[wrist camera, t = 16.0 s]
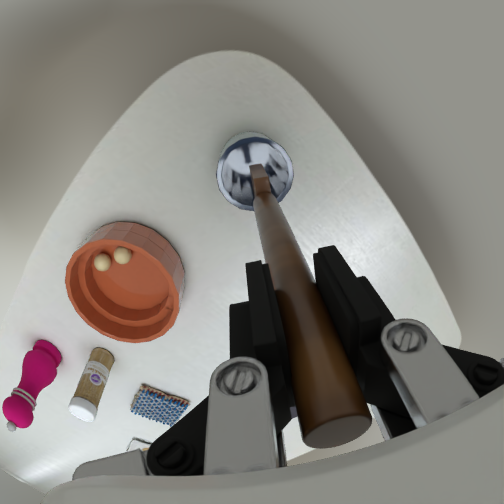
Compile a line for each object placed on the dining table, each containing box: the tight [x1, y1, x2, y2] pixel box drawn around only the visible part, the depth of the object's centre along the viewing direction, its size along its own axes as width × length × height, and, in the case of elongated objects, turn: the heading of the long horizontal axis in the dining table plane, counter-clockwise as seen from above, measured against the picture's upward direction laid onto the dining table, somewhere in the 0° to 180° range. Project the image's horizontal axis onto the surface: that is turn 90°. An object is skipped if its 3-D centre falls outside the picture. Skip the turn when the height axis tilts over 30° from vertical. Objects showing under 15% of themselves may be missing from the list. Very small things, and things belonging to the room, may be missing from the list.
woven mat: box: [130, 386, 190, 427], centre depth 52 cm, size 10×11×2 cm
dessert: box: [127, 440, 151, 452], centre depth 62 cm, size 12×12×5 cm
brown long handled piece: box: [249, 164, 372, 448], centre depth 15 cm, size 4×2×21 cm, turn 9°
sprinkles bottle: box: [68, 348, 114, 422], centre depth 41 cm, size 5×5×13 cm
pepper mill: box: [2, 340, 61, 432], centre depth 37 cm, size 7×7×20 cm
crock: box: [216, 131, 294, 211], centre depth 30 cm, size 7×7×8 cm
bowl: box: [65, 222, 184, 343], centre depth 37 cm, size 15×15×6 cm
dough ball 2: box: [114, 246, 132, 264], centre depth 36 cm, size 2×2×2 cm
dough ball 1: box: [94, 253, 111, 271], centre depth 36 cm, size 2×2×2 cm
